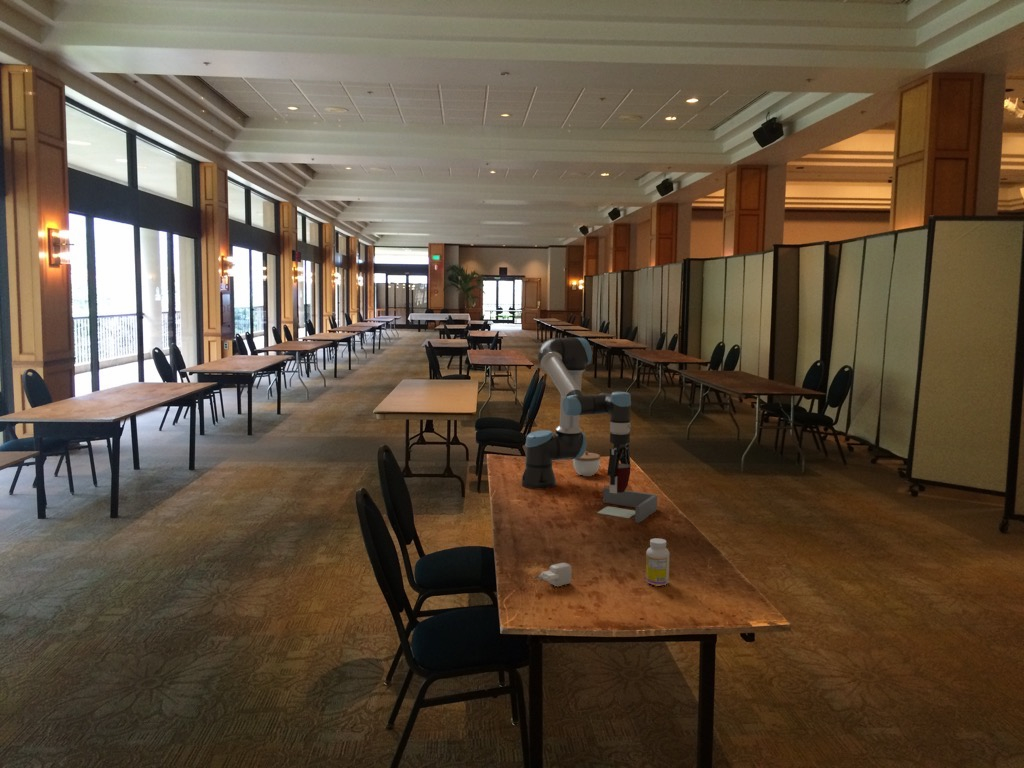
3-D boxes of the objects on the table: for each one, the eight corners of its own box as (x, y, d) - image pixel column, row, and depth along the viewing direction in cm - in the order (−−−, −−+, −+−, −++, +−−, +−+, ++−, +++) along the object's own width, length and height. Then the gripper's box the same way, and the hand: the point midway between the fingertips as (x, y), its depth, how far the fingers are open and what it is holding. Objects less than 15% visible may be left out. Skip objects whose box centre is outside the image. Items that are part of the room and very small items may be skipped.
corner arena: (583, 513, 290) (584, 498, 290) (604, 501, 307) (605, 487, 307) (638, 523, 279) (639, 507, 278) (657, 509, 296) (657, 494, 296)
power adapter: (541, 593, 215) (541, 573, 214) (532, 587, 219) (532, 567, 218) (573, 585, 220) (573, 565, 220) (563, 579, 224) (563, 560, 224)
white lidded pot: (566, 474, 353) (567, 450, 351) (585, 469, 361) (585, 447, 360) (587, 479, 344) (587, 455, 342) (605, 474, 352) (606, 451, 351)
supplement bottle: (652, 577, 227) (653, 535, 226) (672, 582, 223) (674, 540, 221) (641, 583, 222) (642, 541, 220) (661, 589, 218) (663, 546, 216)
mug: (606, 486, 296) (607, 461, 295) (627, 487, 296) (628, 462, 295) (609, 494, 286) (610, 468, 285) (631, 494, 286) (631, 468, 285)
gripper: (617, 438, 277) (616, 497, 280) (640, 429, 296) (638, 484, 299) (598, 436, 281) (597, 495, 283) (622, 427, 300) (620, 482, 303)
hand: (618, 489), depth 291 cm, fingers closed on mug, 10 cm apart
